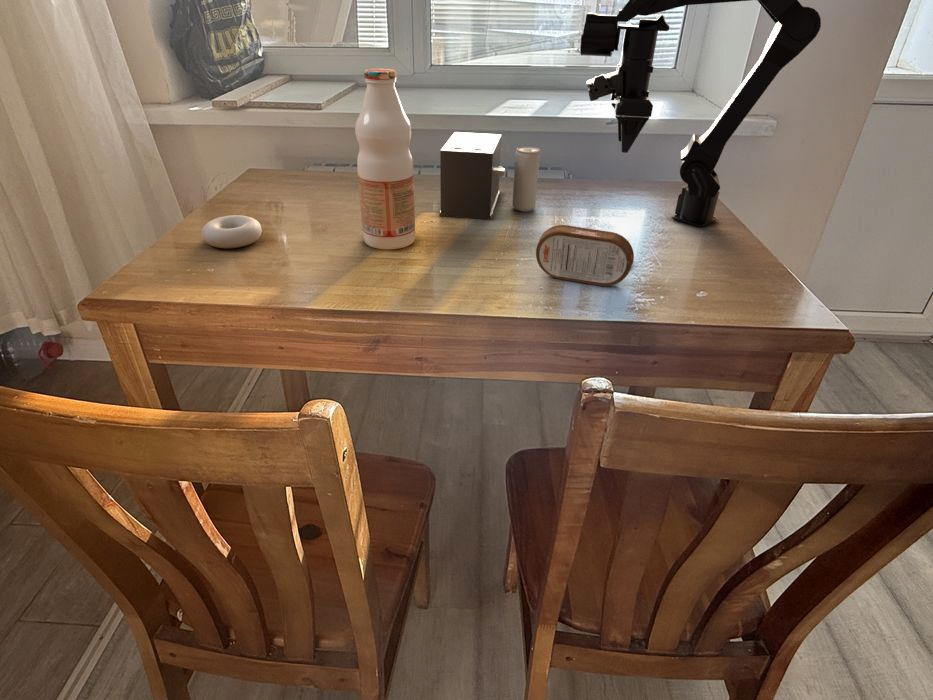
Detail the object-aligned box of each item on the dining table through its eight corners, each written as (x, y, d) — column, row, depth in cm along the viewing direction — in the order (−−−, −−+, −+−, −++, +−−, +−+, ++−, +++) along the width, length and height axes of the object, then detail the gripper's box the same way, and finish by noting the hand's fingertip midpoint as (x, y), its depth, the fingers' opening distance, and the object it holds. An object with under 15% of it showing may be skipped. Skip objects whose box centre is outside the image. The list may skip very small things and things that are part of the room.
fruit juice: (360, 250, 101) (345, 74, 86) (366, 230, 109) (353, 65, 93) (414, 250, 101) (408, 74, 86) (416, 231, 109) (411, 66, 94)
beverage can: (532, 213, 118) (537, 153, 112) (509, 210, 120) (513, 150, 113) (537, 206, 122) (542, 147, 116) (515, 203, 124) (519, 145, 117)
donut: (235, 256, 98) (275, 235, 106) (231, 237, 96) (271, 217, 104) (191, 245, 101) (233, 226, 109) (186, 227, 100) (229, 208, 107)
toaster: (508, 194, 128) (511, 134, 121) (500, 220, 115) (504, 153, 108) (453, 191, 130) (453, 130, 123) (439, 216, 116) (439, 149, 109)
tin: (629, 283, 92) (638, 233, 87) (627, 292, 89) (636, 240, 85) (536, 269, 96) (540, 220, 91) (531, 276, 93) (536, 226, 89)
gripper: (590, 51, 114) (580, 134, 122) (593, 62, 99) (581, 156, 107) (648, 53, 113) (634, 137, 121) (660, 65, 97) (643, 159, 106)
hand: (622, 146), depth 114 cm, fingers open, 9 cm apart
